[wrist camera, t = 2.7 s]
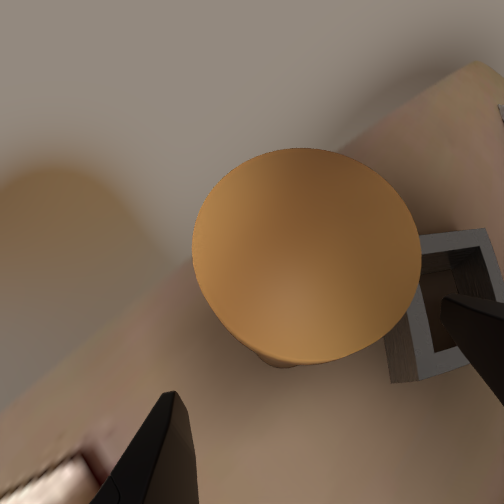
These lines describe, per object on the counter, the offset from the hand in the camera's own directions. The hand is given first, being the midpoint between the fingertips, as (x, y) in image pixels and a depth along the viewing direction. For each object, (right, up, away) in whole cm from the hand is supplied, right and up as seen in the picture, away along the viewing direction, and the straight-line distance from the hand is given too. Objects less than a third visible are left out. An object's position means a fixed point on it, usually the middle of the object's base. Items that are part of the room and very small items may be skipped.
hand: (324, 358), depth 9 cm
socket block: (+10, -1, +10) cm, 14 cm away
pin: (0, -2, +10) cm, 10 cm away
